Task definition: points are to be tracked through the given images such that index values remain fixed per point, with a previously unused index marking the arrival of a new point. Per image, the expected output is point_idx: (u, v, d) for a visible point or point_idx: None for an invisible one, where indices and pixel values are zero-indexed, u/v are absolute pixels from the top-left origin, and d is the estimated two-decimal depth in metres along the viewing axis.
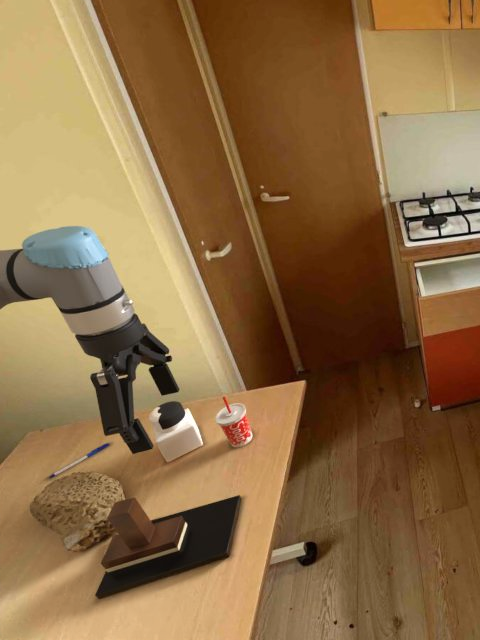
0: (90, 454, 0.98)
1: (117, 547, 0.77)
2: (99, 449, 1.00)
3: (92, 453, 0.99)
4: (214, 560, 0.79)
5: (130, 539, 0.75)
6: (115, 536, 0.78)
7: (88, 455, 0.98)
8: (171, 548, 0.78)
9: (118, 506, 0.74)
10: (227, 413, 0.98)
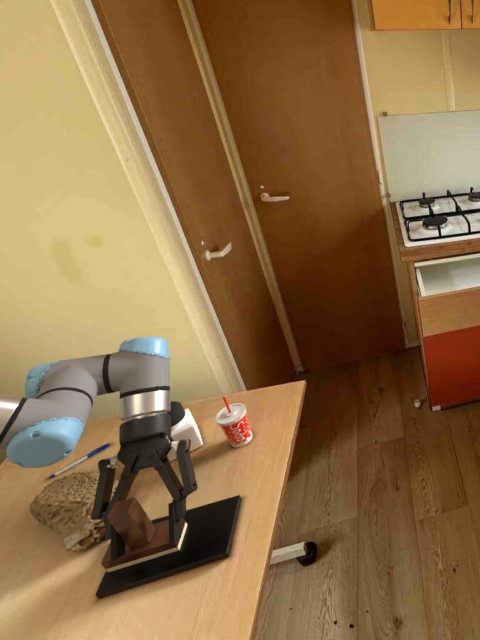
0: (90, 454, 0.98)
1: None
2: (99, 449, 1.00)
3: (92, 453, 0.99)
4: (214, 560, 0.79)
5: (130, 539, 0.75)
6: None
7: (88, 456, 0.98)
8: (171, 548, 0.78)
9: (118, 506, 0.74)
10: (227, 413, 0.98)
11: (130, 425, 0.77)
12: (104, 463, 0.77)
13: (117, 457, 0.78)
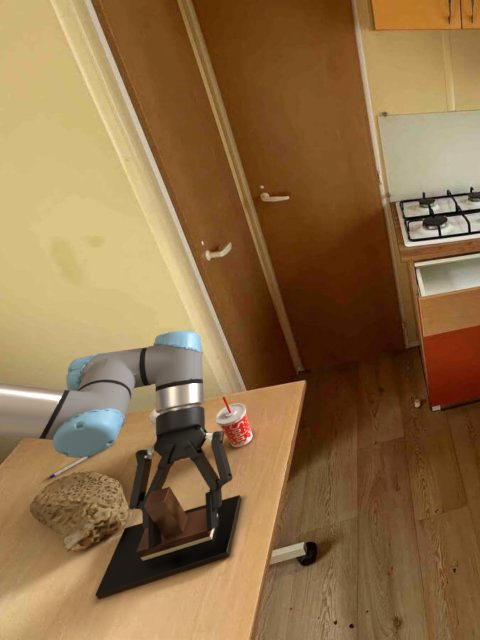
0: None
1: None
2: None
3: None
4: (214, 560, 0.79)
5: (165, 528, 0.77)
6: None
7: (88, 456, 0.98)
8: (204, 537, 0.80)
9: (154, 495, 0.76)
10: (227, 413, 0.98)
11: (167, 417, 0.79)
12: (141, 454, 0.78)
13: (154, 448, 0.79)
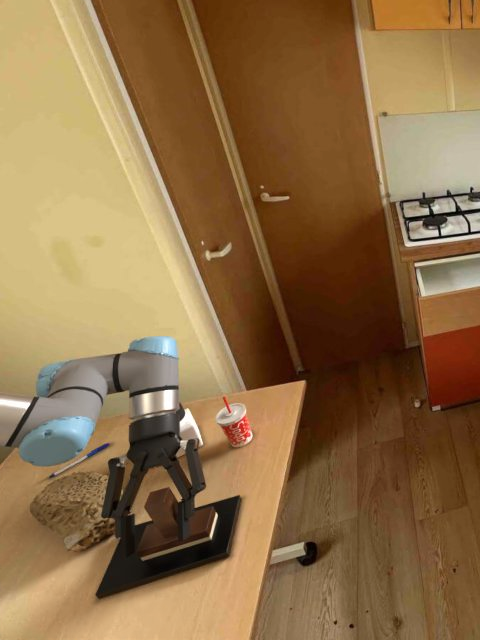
0: (90, 454, 0.98)
1: (152, 536, 0.78)
2: (99, 449, 0.99)
3: (92, 453, 0.99)
4: (214, 560, 0.79)
5: (165, 528, 0.77)
6: (149, 525, 0.80)
7: (88, 455, 0.98)
8: (204, 537, 0.80)
9: (154, 495, 0.76)
10: (227, 413, 0.98)
11: (140, 424, 0.78)
12: (114, 462, 0.77)
13: (127, 456, 0.78)
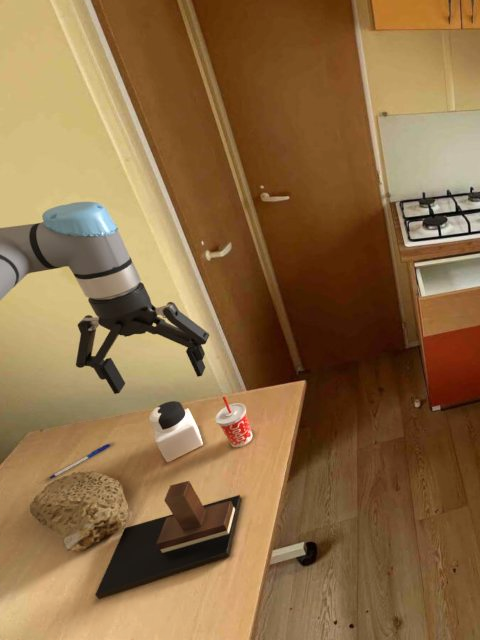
0: (91, 455, 0.98)
1: (171, 529, 0.80)
2: (100, 450, 1.00)
3: (93, 454, 0.99)
4: (214, 560, 0.79)
5: (184, 521, 0.78)
6: (168, 518, 0.81)
7: (88, 456, 0.98)
8: (221, 531, 0.81)
9: (174, 489, 0.77)
10: (227, 413, 0.98)
11: (103, 306, 0.71)
12: (85, 326, 0.74)
13: (100, 324, 0.75)
